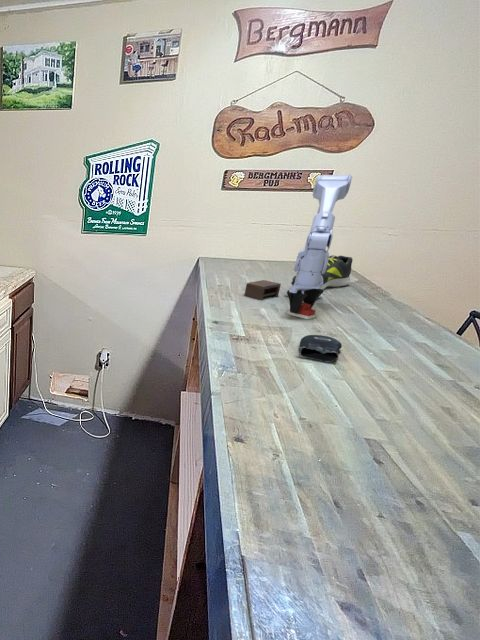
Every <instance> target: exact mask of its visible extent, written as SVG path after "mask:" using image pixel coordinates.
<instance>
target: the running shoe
mask: <svg viewBox="0 0 480 640" xmlns="http://www.w3.org/2000/svg"><path fill="white" fill-rule="evenodd" d="M352 264H353V258H352V257H351V256H345V255H334V254H333V255H332V254H331V255H329V260H328V264H327V268H326V271H325V273H324V274H321V275H322V277H323V286H322V288H321V289H322V290H325V289H326V288H327V287H329V288H338V287H346V286H348V285H349V284H350V281H351V277H350V276H351V272H352ZM295 279H296V275H294V276H293V277H292V280H291V282H290V284H291V286H293V285H294V283H295Z"/></svg>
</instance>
